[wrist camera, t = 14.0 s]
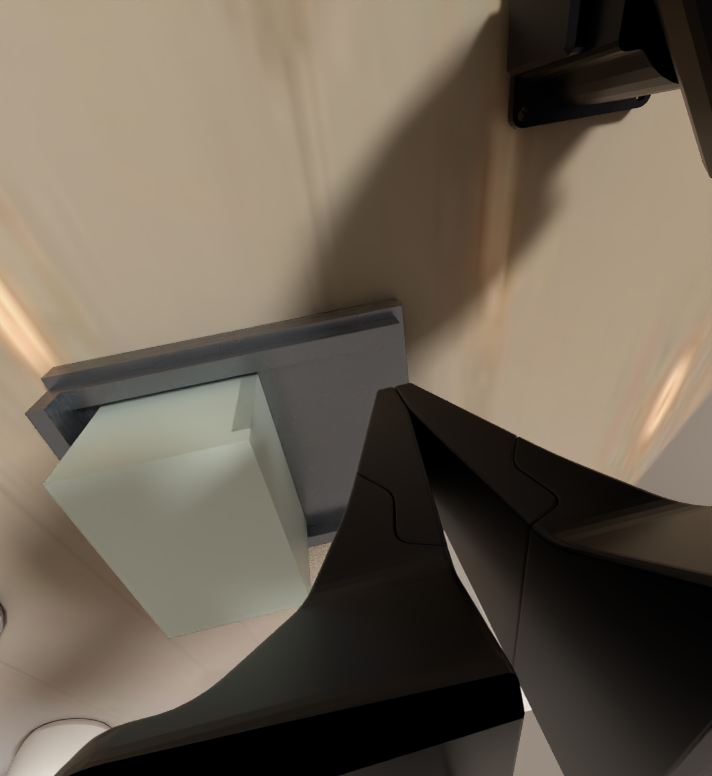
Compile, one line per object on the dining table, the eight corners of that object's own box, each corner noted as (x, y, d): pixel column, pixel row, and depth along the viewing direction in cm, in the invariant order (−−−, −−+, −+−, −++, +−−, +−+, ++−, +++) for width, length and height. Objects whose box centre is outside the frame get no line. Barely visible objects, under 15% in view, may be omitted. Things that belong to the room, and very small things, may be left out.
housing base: (395, 298, 21) (426, 336, 16) (415, 501, 29) (439, 562, 25) (53, 367, 19) (-15, 427, 15) (176, 557, 28) (156, 631, 23)
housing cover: (257, 372, 20) (249, 440, 15) (306, 522, 26) (311, 603, 21) (102, 405, 20) (42, 485, 15) (190, 549, 26) (168, 638, 21)
